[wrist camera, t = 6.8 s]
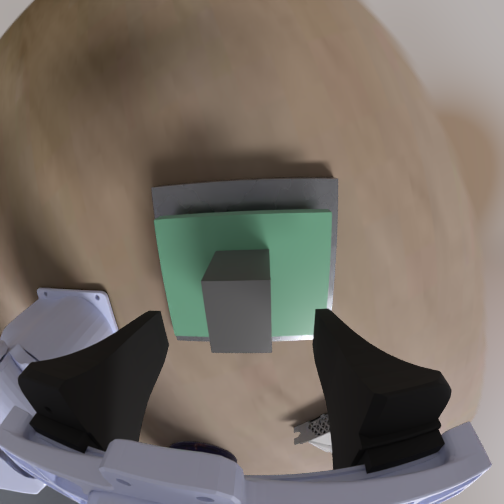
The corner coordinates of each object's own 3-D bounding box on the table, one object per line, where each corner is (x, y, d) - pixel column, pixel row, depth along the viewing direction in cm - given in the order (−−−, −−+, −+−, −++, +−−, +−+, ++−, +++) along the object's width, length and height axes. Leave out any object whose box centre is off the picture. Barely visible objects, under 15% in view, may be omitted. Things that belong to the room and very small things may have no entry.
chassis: (180, 333, 22) (172, 351, 20) (156, 186, 18) (142, 191, 16) (326, 330, 21) (332, 350, 19) (334, 177, 17) (344, 180, 15)
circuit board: (178, 327, 19) (157, 374, 14) (159, 216, 16) (121, 240, 11) (321, 325, 18) (336, 375, 13) (327, 208, 16) (354, 231, 11)
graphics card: (376, 404, 21) (427, 457, 26) (367, 380, 24) (421, 443, 30) (289, 444, 23) (373, 484, 29) (287, 421, 26) (369, 469, 32)
